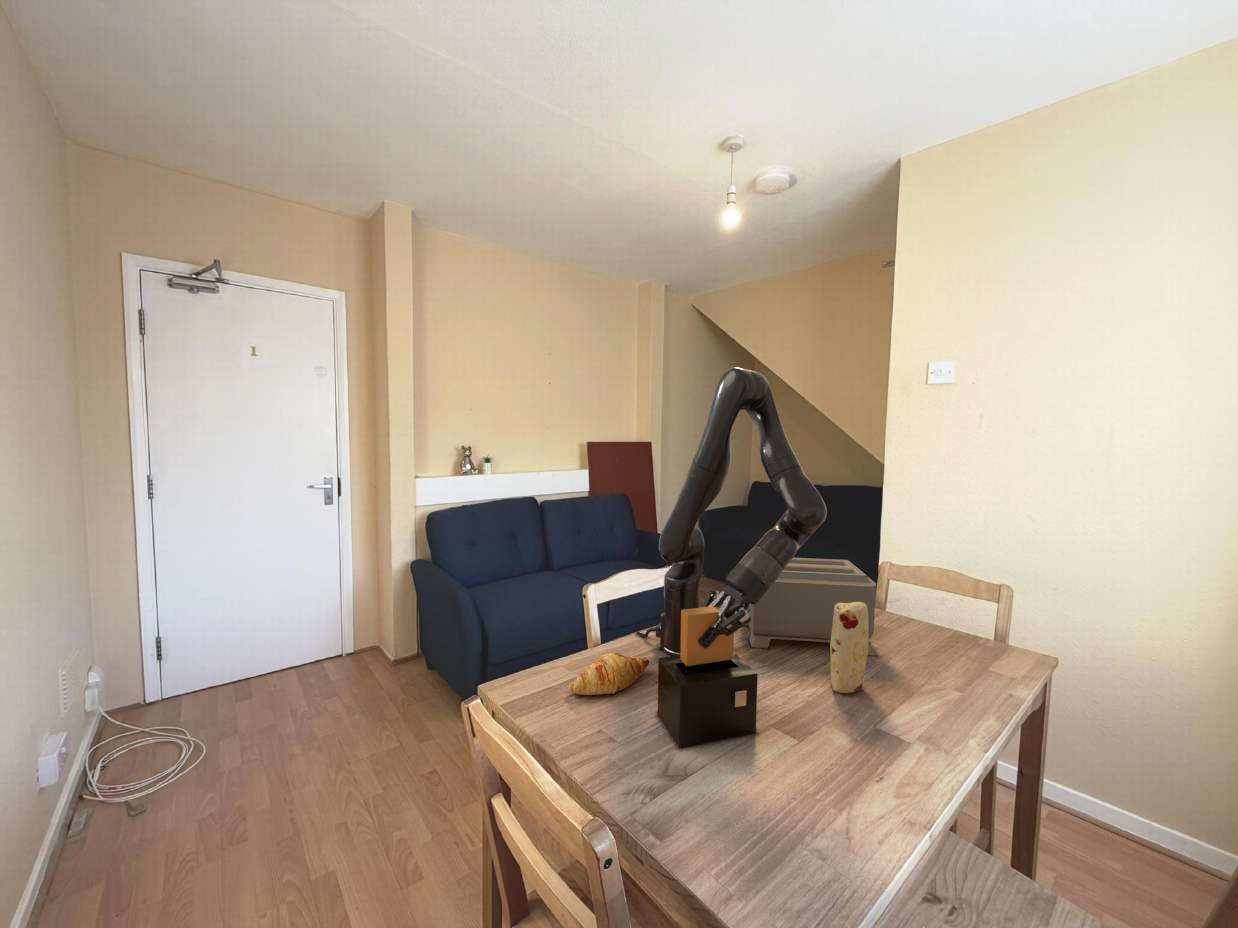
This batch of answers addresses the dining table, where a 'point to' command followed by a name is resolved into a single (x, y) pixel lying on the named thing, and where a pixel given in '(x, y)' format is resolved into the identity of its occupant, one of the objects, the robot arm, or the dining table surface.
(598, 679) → the croissant
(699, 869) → the dining table surface
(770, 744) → the dining table surface
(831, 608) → the toaster
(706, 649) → the orange slab
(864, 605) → the food model
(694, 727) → the slot toaster
